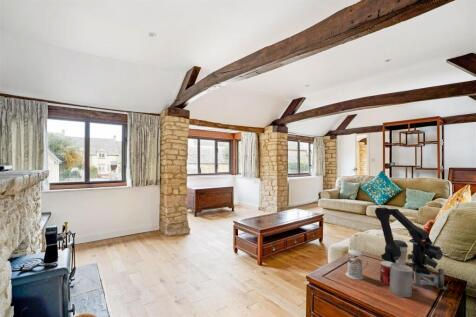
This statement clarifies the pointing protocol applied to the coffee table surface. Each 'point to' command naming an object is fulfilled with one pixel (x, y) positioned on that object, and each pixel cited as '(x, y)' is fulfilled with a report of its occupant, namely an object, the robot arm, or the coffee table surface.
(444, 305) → the coffee table surface
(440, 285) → the hinge post
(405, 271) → the pillar candle
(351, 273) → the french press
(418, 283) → the latch stile
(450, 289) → the coffee table surface
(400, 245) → the coffee cup
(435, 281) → the gate
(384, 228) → the robot arm
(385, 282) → the canned food
